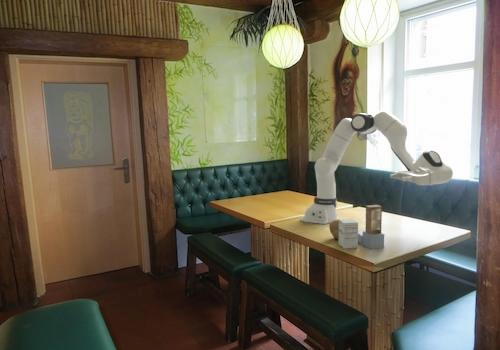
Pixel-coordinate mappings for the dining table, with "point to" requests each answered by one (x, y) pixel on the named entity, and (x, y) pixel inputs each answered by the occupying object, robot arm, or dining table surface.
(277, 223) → the dining table surface
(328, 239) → the dining table surface
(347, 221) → the supplement box
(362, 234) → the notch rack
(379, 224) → the frame block
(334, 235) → the natural sponge
